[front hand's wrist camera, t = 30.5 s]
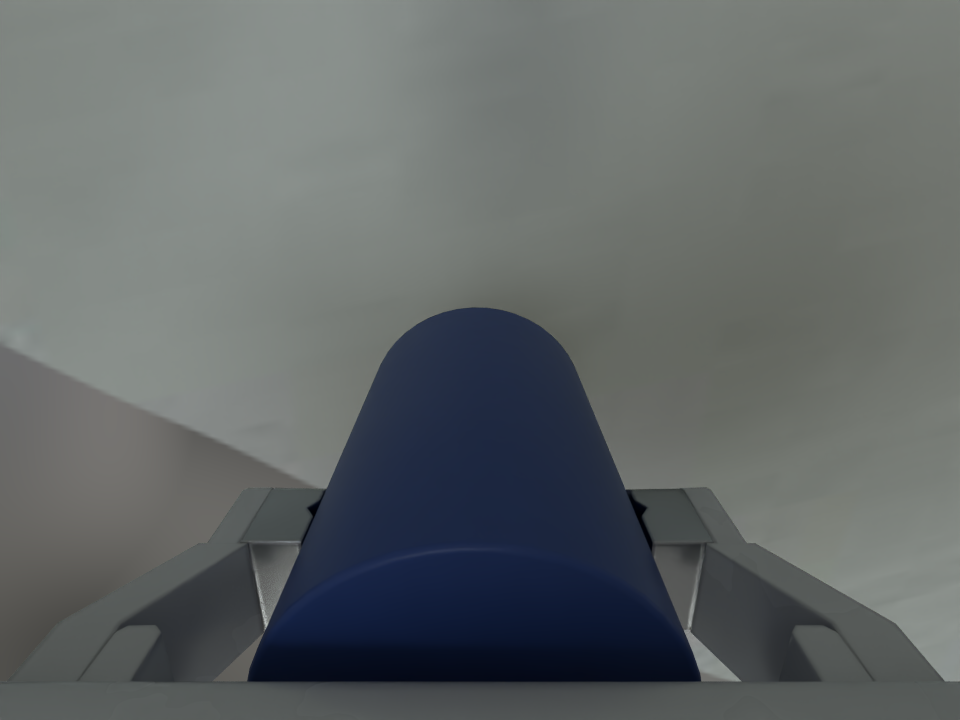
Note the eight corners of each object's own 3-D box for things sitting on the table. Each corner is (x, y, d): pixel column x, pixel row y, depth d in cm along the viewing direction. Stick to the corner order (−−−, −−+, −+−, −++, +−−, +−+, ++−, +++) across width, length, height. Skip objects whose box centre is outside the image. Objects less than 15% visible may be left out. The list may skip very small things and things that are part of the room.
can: (360, 311, 14) (192, 556, 6) (583, 301, 14) (732, 536, 6) (384, 498, 16) (285, 875, 8) (579, 490, 16) (684, 864, 8)
